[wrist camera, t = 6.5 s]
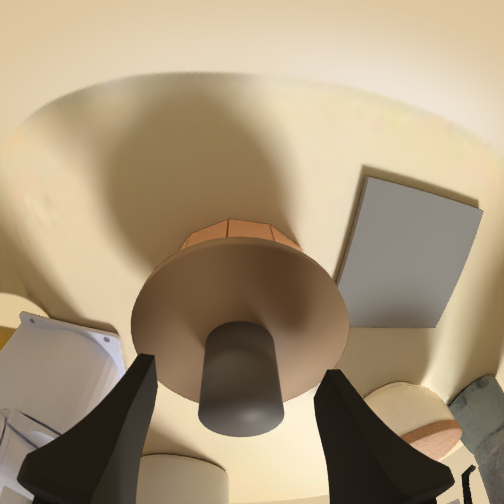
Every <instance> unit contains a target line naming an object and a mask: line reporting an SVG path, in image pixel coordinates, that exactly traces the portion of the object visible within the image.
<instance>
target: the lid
mask: <svg viewBox="0 0 504 504" xmlns="http://www.w3.org/2000/svg"><path fill="white" fill-rule="evenodd" d="M348 334H349V318H348V311H347V308H346V305H345V302H344V300H343V298H342V296H341V294H340V292H339V290H338V288H337V286H336V284H335V283H334V281H333V279H332V278H331V277H330V275H329V274H328V273H327V272H326V270H325V269H323V268H322V267H321V266H320V265H319V264H318V263H317V262H316V261H315V260H313V259H312V258H310V257H309V256H307V255H306V254H304V253H303V252H301V251H299V250H297V249H295V248H293V247H290V246H288V245H285V244H282V243H279V242H276V241H272V240H267V239H262V238H255V237H223V238H218V239H212V240H207V241H204V242H200V243H197V244H194V245H191V246H189V247H187V248H185V249H183V250H180V251H178V252H177V253H175V254H174V255H172V256H171V257H169V258H168V259H166V260H165V261H164V262H163V263H161V264H160V265H159V266H158V267H157V268H156V269H155V270H154V271H153V272H152V274H151V275H150V276H149V277H148V279H147V280H146V282H145V284H144V285H143V287H142V289H141V291H140V293H139V295H138V297H137V299H136V302H135V305H134V307H133V311H132V317H131V335H132V340H133V344H134V347H135V349H136V352H137V354H140V353H144V354H149V355H155V363H156V374H157V380H158V381H159V382H160V383H162V384H163V385H164V386H165V387H167V388H168V389H170V390H171V391H173V392H175V393H177V394H178V395H180V396H182V397H184V398H187V399H189V400H192V401H194V402H197V403H199V410H198V417H199V420H200V421H201V423H202V424H203V425H204V426H205V427H206V428H208V429H209V430H211V431H213V432H216V433H218V434H222V435H226V436H232V437H250V436H256V435H260V434H263V433H266V432H269V431H271V430H273V429H274V428H276V427H277V426H278V425H279V424H280V423H281V422H282V420H283V418H284V408H283V402H286V401H288V400H290V399H293V398H295V397H297V396H299V395H301V394H303V393H305V392H307V391H308V390H310V389H311V388H313V387H314V386H316V385H317V384H318V383H319V382H321V381H322V379H323V377H324V375H325V373H326V371H327V369H333V368H334V367H335V365H336V364H337V363H338V361H339V359H340V357H341V356H342V354H343V352H344V349H345V346H346V344H347V339H348Z"/></svg>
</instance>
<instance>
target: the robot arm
mask: <svg viewBox="0 0 504 504" xmlns="http://www.w3.org/2000/svg"><path fill="white" fill-rule="evenodd" d="M20 319H21V322H22V323H21V324H20V326H19V327H18V328H17V330H16V331H15V332H14V333H13V335H12V336H11V337H10V339H9V340H8V342H7V343H6V344H5V346H4V347H3V348H2V350H1V351H0V504H136V494H137V483H138V474H139V467H140V460H141V454H142V450H143V446H144V442H145V438H146V435H147V431H148V428H149V424H150V421H151V417H152V414H153V410H154V406H155V400H156V394H157V388H158V383H157V374H156V363H155V355H149V354H144V353H140V354H138V356H137V357H136V359H135V360H134V362H133V363H132V365H131V366H130V367H129V369H128V370H127V371H126V369H125V364H124V358H123V352H122V346H121V340H120V337H119V336H118V335H117V334H116V333H112V332H107V331H102V330H97V329H93V328H88V327H84V326H79V325H75V324H71V323H66V322H62V321H58V320H54V319H50V318H47V317H43V316H39V315H36V314H32V313H28V312H25V311H22V312H21V313H20ZM106 337H107V338H106ZM108 338H109V339H108ZM314 408H315V417H316V422H317V426H318V430H319V434H320V438H321V442H322V446H323V451H324V455H325V459H326V464H327V472H328V481H329V495H330V504H437V501H436V497H437V496H439V495H440V494H442V493H443V492H445V491H446V490H448V489H449V488H450V487H452V486H453V485H454V483H455V480H454V478H453V475H452V473H451V470H450V468H449V467H448V466H446V465H444V464H441V463H439V462H437V461H435V460H433V459H431V458H430V457H428V456H426V455H425V454H423V453H421V452H420V451H418V450H417V449H415V448H414V447H412V446H411V445H410V444H408V443H407V442H406V441H404V440H403V439H402V438H400V437H399V436H398V435H397V434H396V433H395V432H393V431H392V430H391V429H390V428H389V427H388V426H387V425H386V424H385V423H384V422H383V421H382V420H381V419H380V418H379V417H378V416H377V415H376V414H375V413H374V412H373V410H372V409H371V408H370V407H369V406H368V405H367V403H366V402H365V401H364V400H363V399H362V397H361V396H360V395H359V394H358V392H357V391H356V390H355V388H354V387H353V386H352V385H351V383H350V382H349V381H348V379H347V378H346V377H345V375H344V374H343V373H342V372H341V370H340V369H327V371H326V373H325V375H324V377H323V379H322V381H321V383H320V386H319V388H318V390H317V392H316V394H315V396H314ZM448 504H460V502H459V499H457V500H454V501H452V502H450V503H448Z"/></svg>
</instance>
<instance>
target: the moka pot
mask: <svg viewBox="0 0 504 504" xmlns="http://www.w3.org/2000/svg"><path fill="white" fill-rule="evenodd" d="M449 409H450V411H451V413H452V414H453V416H454V418H455V420H456V421H457V422H458V423H459V425H460V426H461V428H462V435H461V438H460V440H461V442H462V443H463V444H464V445H465V446H466V447H467V449H468V450H469V451H470V452H471V453H472V454H473V455H474V457H475V459H476V462H477V464H478V465H479V467H478V469H479V472H480V474H481V477H482V480H483V483H484V486H485V489H486V492H487V495H488V498H489V502H490V504H504V392H503V390H502V389H501V387H500V385H499V383H498V382H497V380H496V379H495V377H494V376H493V375H486V376H484V377H482V378H480V379H478V380H476V381H475V382H473V383H472V384H471V385H470V386H468V387H467V388H466V389H465V390H464V391H463V392H462V393H460V394H459V395H458V396H457V398H456V399H455V400H454V401H453V402H452V404H451V405H450V406H449ZM475 468H476V467H475V466H473V465H471V466H470V467H469V468H468V469H467V470H466V471H465V472H464V473H463V474H462V475H461V476H462V487H463V497H464V504H472V498H471V492H470V487H469V475H470V473H471V472H473V471H474V470H475Z"/></svg>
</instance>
